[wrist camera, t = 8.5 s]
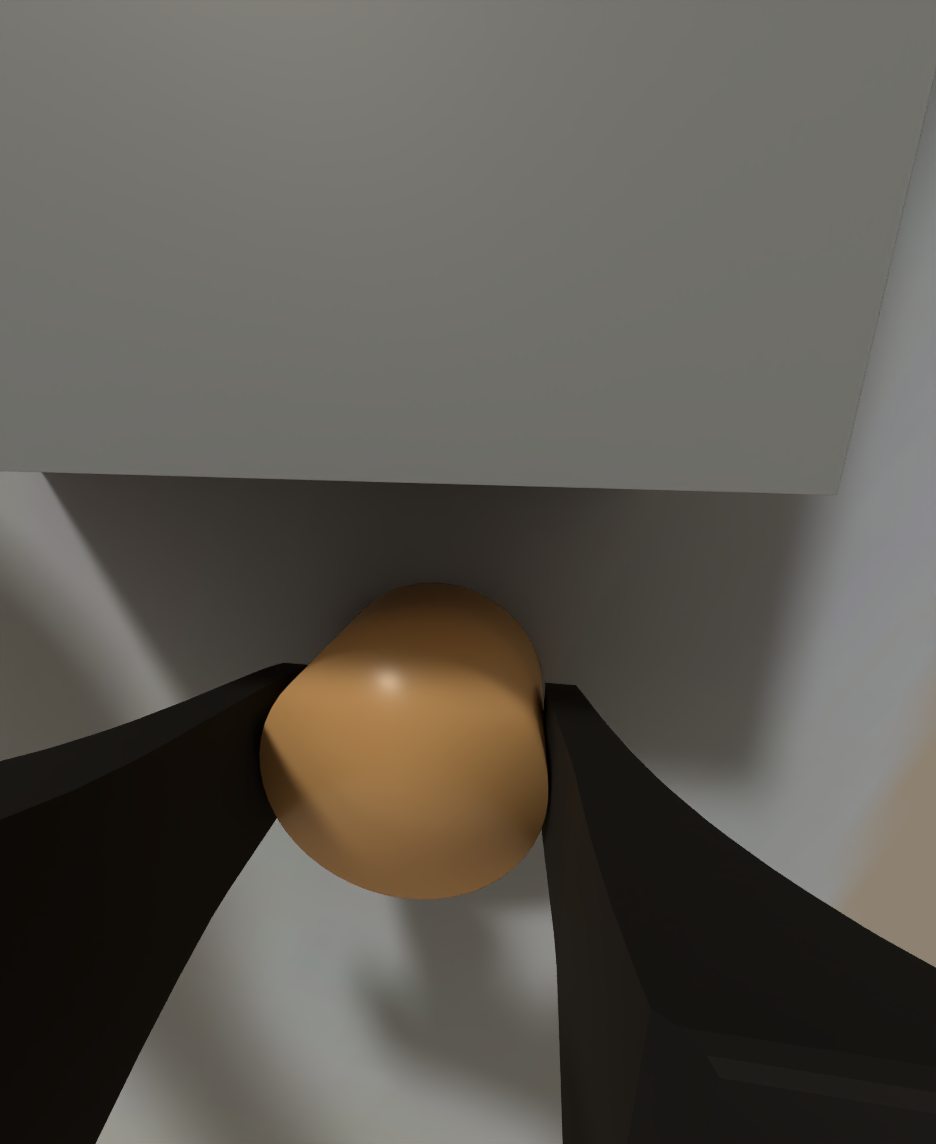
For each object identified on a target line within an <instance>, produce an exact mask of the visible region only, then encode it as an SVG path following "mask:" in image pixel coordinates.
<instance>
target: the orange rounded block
mask: <svg viewBox="0 0 936 1144" xmlns="http://www.w3.org/2000/svg"><path fill="white" fill-rule="evenodd" d="M259 756H260V771H261V776H262V781H263V786H264V789H265V792H266V795H267V798H268V801H269V803H270V805H271V807H272V809H273V811H274V813H275V815H276V817H277V818H278V820H279V822H280V823H281V825H282V826H283V828H284V829H285V831H286V832H287V833H288V834H289V836H290V837H291V838H292V839H293V840H294V842H295V843H296V844H297V845H298V846H299V847H300V848H301V849H302V850H303V851H304V852H305V853H306V854H307V855H308V856H310V857H311V858H312V859H313V860H315V861H316V862H317V863H318V864H320V865H321V866H322V867H324V868H325V869H327V870H329V871H330V872H332V873H333V874H335V875H336V876H338V877H340V878H342V879H344V880H346V881H348V882H350V883H352V884H354V885H357V886H359V887H362V888H364V889H367V890H370V891H373V892H377V893H380V894H384V895H388V896H394V897H399V898H408V899H441V898H448V897H455V896H458V895H462V894H466V893H470V892H473V891H475V890H478V889H480V888H483V887H486V886H487V885H489V884H491V883H493V882H495V881H496V880H498V879H500V878H501V877H503V876H504V875H505V874H507V873H508V872H509V871H511V870H512V869H513V868H514V867H515V866H516V865H517V864H518V863H519V862H520V861H521V860H522V859H523V858H524V857H525V856H526V854H527V853H528V852H529V850H530V849H531V848H532V846H533V845H534V843H535V841H536V839H537V837H538V835H539V833H540V831H541V828H542V825H543V822H544V819H545V816H546V810H547V803H548V774H547V757H546V742H545V727H544V707H543V691H542V676H541V670H540V664H539V661H538V658H537V654H536V652H535V649H534V647H533V645H532V643H531V641H530V639H529V638H528V636H527V635H526V633H525V631H524V630H523V628H522V627H521V626H520V625H519V624H518V623H517V621H516V620H515V619H514V618H513V617H512V616H511V615H510V614H509V613H508V612H506V611H505V610H504V609H503V608H502V607H500V606H499V605H497V604H496V603H495V602H493V601H492V600H490V599H488V598H486V597H484V596H482V595H480V594H478V593H476V592H473V591H471V590H468V589H465V588H461V587H457V586H453V585H446V584H438V583H432V584H417V585H410V586H406V587H402V588H399V589H396V590H393V591H391V592H389V593H387V594H384V595H383V596H381V597H379V598H378V599H376V600H374V601H373V602H372V603H370V604H369V605H368V606H367V607H366V608H364V609H363V610H362V611H361V612H360V613H359V614H358V615H357V616H356V617H355V618H354V619H353V620H352V621H351V622H350V623H349V624H348V625H347V626H346V627H345V628H344V629H343V630H342V632H341V633H340V634H339V635H338V636H337V637H336V638H335V639H334V640H333V641H332V642H331V643H330V644H329V645H328V646H327V647H326V648H325V649H324V650H323V651H322V652H321V653H320V654H319V655H318V656H317V657H316V658H315V659H314V660H313V661H312V662H311V663H310V664H309V665H308V666H307V667H306V668H305V669H304V670H303V671H302V672H301V673H300V674H299V675H298V676H297V677H296V678H295V679H294V680H293V681H292V682H291V683H290V684H289V685H288V686H287V688H286V689H285V690H284V691H283V692H282V693H281V694H280V696H279V697H278V699H277V700H276V702H275V703H274V705H273V706H272V708H271V710H270V712H269V715H268V717H267V719H266V722H265V724H264V728H263V732H262V736H261V743H260V753H259Z"/></svg>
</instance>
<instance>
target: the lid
mask: <svg viewBox="0 0 936 1144" xmlns="http://www.w3.org/2000/svg"><path fill="white" fill-rule="evenodd" d="M935 70H936V0H0V471H18V472H53V473H88V474H122V475H157V476H192V477H226V478H261V479H296V480H331V481H365V482H400V483H435V484H470V485H504V486H539V487H574V488H609V489H643V490H678V491H713V492H748V493H782V494H817V495H837V493H838V489H839V485H840V480H841V476H842V472H843V467H844V463H845V459H846V454H847V450H848V446H849V441H850V437H851V433H852V428H853V424H854V420H855V415H856V411H857V407H858V403H859V398H860V394H861V390H862V385H863V381H864V377H865V372H866V368H867V364H868V359H869V355H870V351H871V346H872V342H873V338H874V333H875V329H876V325H877V320H878V316H879V312H880V307H881V303H882V299H883V294H884V290H885V286H886V281H887V277H888V273H889V268H890V264H891V260H892V255H893V251H894V247H895V243H896V238H897V234H898V230H899V225H900V221H901V217H902V212H903V208H904V204H905V199H906V195H907V191H908V186H909V182H910V178H911V173H912V169H913V165H914V160H915V156H916V152H917V147H918V143H919V139H920V134H921V130H922V126H923V121H924V117H925V113H926V108H927V104H928V100H929V96H930V91H931V87H932V83H933V78H934V74H935Z"/></svg>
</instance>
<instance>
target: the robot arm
mask: <svg viewBox="0 0 936 1144" xmlns="http://www.w3.org/2000/svg"><path fill="white" fill-rule="evenodd" d="M307 666H308V665H305V664H292V663H281V664H278V665H274V666H271V667H268V668H265V669H262V670H260V671H257V672H255V673H252V674H250V675H247V676H245V677H242V678H240V679H237V680H235V681H232V682H230V683H228V684H225V685H223V686H220V687H218V688H216V689H213V690H211V691H208V692H206V693H203V694H201V695H199V696H196V697H194V698H191V699H189V700H186V701H184V702H181V703H179V704H176V705H173V706H171V707H168V708H166V709H163V710H160V711H158V712H155V713H153V714H150V715H147V716H145V717H142V718H140V719H137V720H134V721H132V722H129V723H126V724H123V725H121V726H118V727H115V728H112V729H109V730H106V731H103V732H100V733H97V734H94V735H91V736H88V737H84V738H81V739H78V740H75V741H72V742H68V743H65V744H62V745H59V746H55V747H52V748H49V749H45V750H42V751H38V752H34V753H30V754H26V755H23V756H19V757H15V758H11V759H7V760H3V761H0V1144H95V1143H96V1141H97V1139H98V1137H99V1135H100V1133H101V1131H102V1129H103V1127H104V1125H105V1123H106V1121H107V1119H108V1117H109V1115H110V1113H111V1111H112V1109H113V1107H114V1105H115V1103H116V1100H117V1098H118V1096H119V1094H120V1092H121V1090H122V1088H123V1086H124V1084H125V1082H126V1080H127V1078H128V1076H129V1074H130V1072H131V1070H132V1068H133V1066H134V1064H135V1062H136V1060H137V1058H138V1055H139V1053H140V1051H141V1049H142V1048H143V1046H144V1044H145V1042H146V1040H147V1038H148V1036H149V1034H150V1032H151V1030H152V1028H153V1026H154V1024H155V1022H156V1021H157V1019H158V1017H159V1015H160V1013H161V1011H162V1009H163V1007H164V1005H165V1003H166V1001H167V999H168V997H169V995H170V994H171V992H172V990H173V988H174V986H175V984H176V982H177V980H178V978H179V976H180V974H181V973H182V971H183V969H184V967H185V965H186V964H187V962H188V960H189V958H190V956H191V954H192V953H193V951H194V949H195V947H196V945H197V943H198V942H199V940H200V938H201V936H202V934H203V932H204V931H205V929H206V927H207V925H208V923H209V922H210V920H211V918H212V916H213V915H214V913H215V911H216V910H217V908H218V906H219V905H220V903H221V902H222V900H223V898H224V897H225V895H226V894H227V892H228V890H229V889H230V887H231V886H232V884H233V883H234V881H235V880H236V878H237V877H238V875H239V874H240V872H241V871H242V869H243V868H244V866H245V865H246V863H247V862H248V860H249V859H250V857H251V856H252V854H253V853H254V851H255V850H256V848H257V847H258V845H259V844H260V842H261V841H262V839H263V838H264V836H265V835H266V833H267V832H268V830H269V829H270V828H271V826H272V825H273V823H274V822H275V820H276V818H277V817H276V815H275V813H274V811H273V809H272V807H271V805H270V803H269V801H268V798H267V795H266V792H265V789H264V786H263V781H262V776H261V771H260V756H259V753H260V743H261V736H262V732H263V728H264V724H265V722H266V719H267V717H268V715H269V712H270V710H271V708H272V706H273V705H274V703H275V702H276V700H277V699H278V697H279V696H280V694H281V693H282V692H283V691H284V690H285V689H286V688H287V686H288V685H289V684H290V683H291V682H292V681H293V680H294V679H295V678H296V677H297V676H298V675H299V674H300V673H301V672H302V671H303V670H304V669H305V668H306V667H307ZM544 727H545V742H546V757H547V774H548V803H547V810H546V816H545V819H544V822H543V825H542V837H543V845H544V854H545V863H546V871H547V879H548V888H549V896H550V905H551V913H552V921H553V930H554V939H555V952H556V964H557V987H558V1014H559V1041H560V1073H561V1104H562V1136H563V1144H936V968H935V967H934V966H932V965H930V964H928V963H926V962H925V961H923V960H921V959H919V958H917V957H915V956H914V955H912V954H910V953H908V952H907V951H905V950H903V949H901V948H899V947H897V946H896V945H894V944H892V943H890V942H888V941H887V940H885V939H883V938H881V937H880V936H878V935H876V934H875V933H873V932H871V931H870V930H868V929H866V928H864V927H863V926H861V925H860V924H858V923H857V922H855V921H853V920H852V919H850V918H849V917H847V916H845V915H844V914H842V913H841V912H839V911H837V910H836V909H834V908H833V907H831V906H829V905H828V904H826V903H824V902H823V901H821V900H820V899H818V898H816V897H815V896H813V895H812V894H810V893H808V892H807V891H805V890H804V889H802V888H801V887H799V886H798V885H796V884H795V883H793V882H792V881H790V880H789V879H787V878H786V877H784V876H783V875H781V874H780V873H778V872H777V871H775V870H774V869H772V868H771V867H769V866H768V865H767V864H765V863H764V862H762V861H761V860H760V859H758V858H757V857H755V856H754V855H753V854H751V853H750V852H748V851H747V850H746V849H744V848H743V847H742V846H740V845H739V844H737V843H736V842H735V841H733V840H732V839H730V838H729V837H728V836H726V835H725V834H724V833H722V832H721V831H720V830H719V829H717V828H716V827H715V826H713V825H712V824H711V823H709V822H708V821H707V820H706V819H704V818H703V817H702V816H701V815H700V814H698V813H697V812H696V811H695V810H694V809H692V808H691V807H690V806H689V805H688V804H687V803H685V802H684V801H683V800H682V799H681V798H679V797H678V796H677V795H676V794H675V793H673V792H672V791H671V790H670V789H669V788H668V787H667V786H666V785H665V784H663V783H662V782H661V781H660V780H659V779H658V778H657V777H656V776H655V775H654V774H653V773H652V772H651V771H650V770H649V769H648V768H647V767H646V766H645V765H644V764H643V763H642V762H641V761H640V760H639V759H638V758H637V757H636V756H635V755H634V754H633V753H632V752H631V751H630V750H629V749H628V748H627V747H626V745H625V744H624V743H623V742H622V741H621V740H620V739H619V738H618V736H617V735H616V734H615V733H614V732H613V731H612V730H611V728H610V727H609V726H608V725H607V724H606V722H605V721H604V720H603V719H602V718H601V716H600V715H599V714H598V713H597V711H596V710H595V709H594V708H593V706H592V705H591V704H590V702H589V701H588V700H587V698H586V697H585V696H584V695H583V693H582V692H581V691H580V690H579V688H578V687H577V686H576V685H566V684H553V683H545V697H544Z"/></svg>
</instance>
